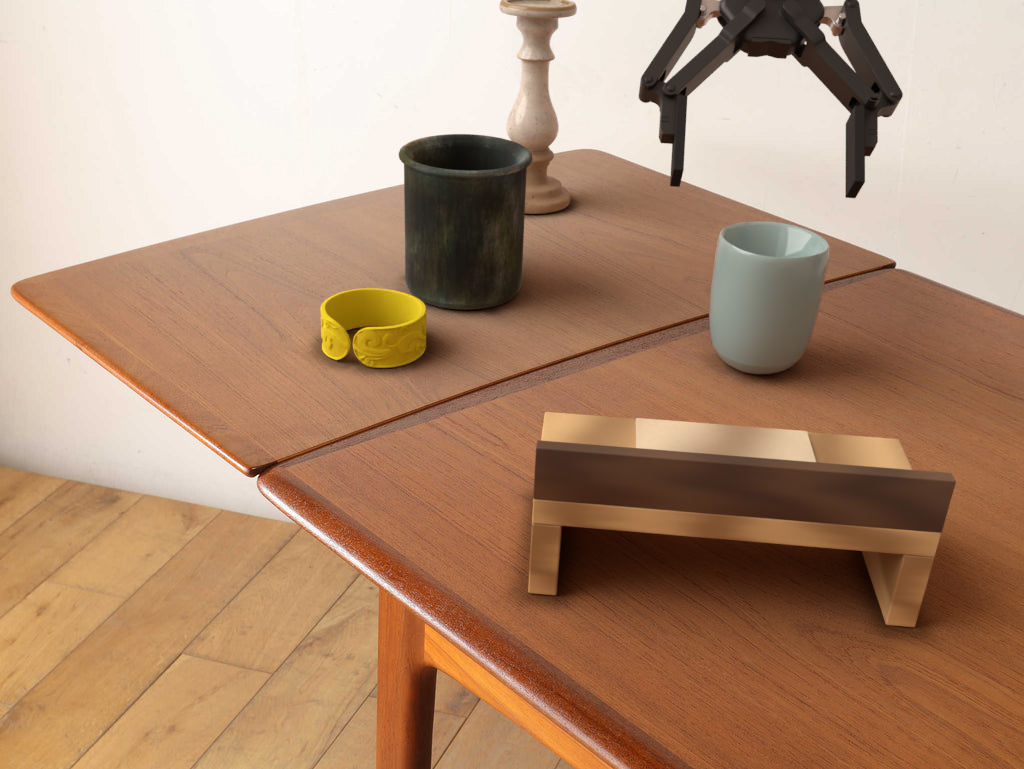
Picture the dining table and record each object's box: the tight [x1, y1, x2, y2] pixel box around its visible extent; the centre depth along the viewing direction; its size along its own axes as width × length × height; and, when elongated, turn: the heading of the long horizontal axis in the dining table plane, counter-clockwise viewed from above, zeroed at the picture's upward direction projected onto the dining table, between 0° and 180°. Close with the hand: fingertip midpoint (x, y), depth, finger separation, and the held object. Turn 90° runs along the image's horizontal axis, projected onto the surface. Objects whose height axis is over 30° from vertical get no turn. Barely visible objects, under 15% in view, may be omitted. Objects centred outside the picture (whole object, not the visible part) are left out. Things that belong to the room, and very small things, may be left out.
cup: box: [708, 220, 830, 376], centre depth 78 cm, size 8×8×10 cm
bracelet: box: [319, 287, 427, 369], centre depth 80 cm, size 7×8×3 cm
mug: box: [398, 133, 532, 311], centre depth 90 cm, size 11×15×12 cm
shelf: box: [527, 411, 957, 628], centre depth 57 cm, size 20×9×9 cm, turn 85°
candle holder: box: [498, 0, 578, 215], centre depth 108 cm, size 9×9×20 cm
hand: (765, 184), depth 81 cm, fingers open, 13 cm apart
